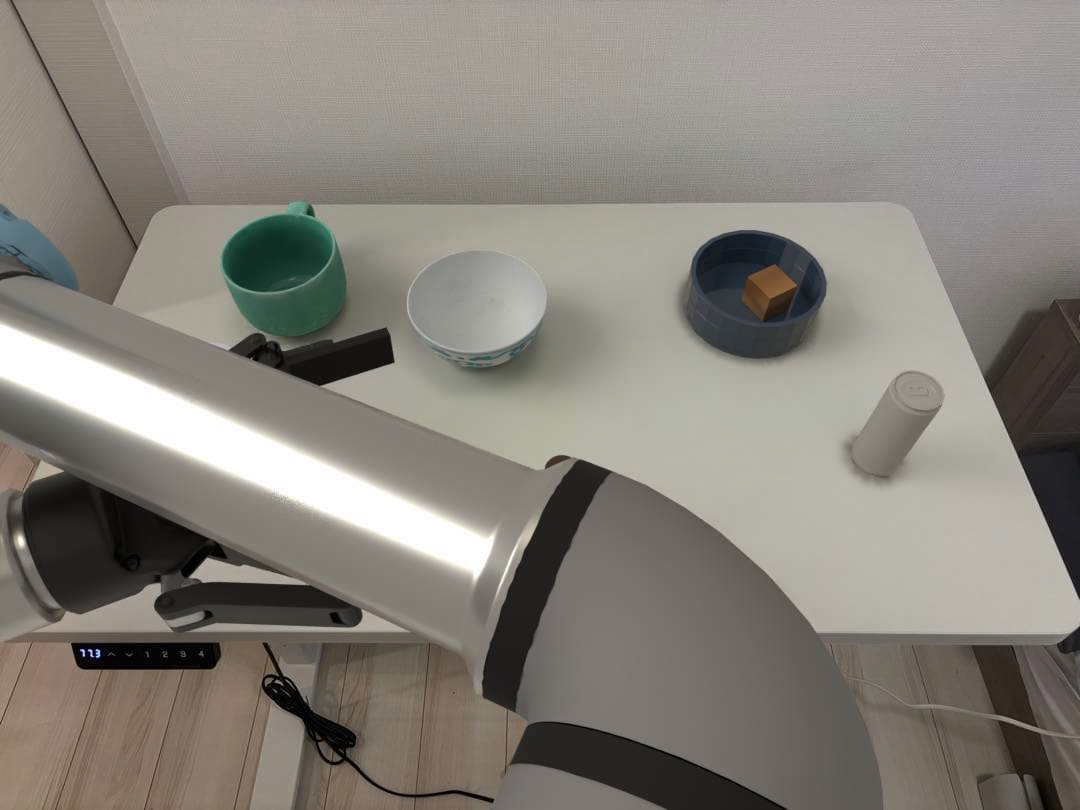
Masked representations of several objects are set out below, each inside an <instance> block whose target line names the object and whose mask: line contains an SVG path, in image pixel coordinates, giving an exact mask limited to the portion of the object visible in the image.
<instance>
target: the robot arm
mask: <svg viewBox="0 0 1080 810" xmlns="http://www.w3.org/2000/svg"><path fill="white" fill-rule="evenodd" d="M266 337H267V336H265V334H264V333H261V332H254V333H253V332H252V333H251V334H249V335H247V336H246V337H245V338H243V339H242V340H240V341H239V342H238V343H236V344H234V345H233V346H232V348H231V349H229V350H226V349H223V348H220V347H218V346H215V345H213V344H210V343H207V342H208V341H205V340H203V339H199V338H197V337H195V336H192V335H189V334H187V333H185V332H181V331H179V330H176V329H174V328H171V327H168V326H166V325H164V324H161V323H158V322H156V321H153V320H151V319H149V318H146V317H143V316H140V315H138V314H135V313H132V312H130V311H127V310H125V309H122V308H120V307H117V306H115V305H112V304H110V303H107V302H104V301H102V300H99V299H97V298H95V297H91V296H89V295H87V294H84V293H81V292H80V284H79V279H78V277H77V274H76V271H75V269H74V267H73V266H72V265H71V263H70V262H69V260H68V259H67V258H66V256H65V255H64V253H63V252H62V251H61V250H60V249H59V248H58V246H56V244H55V243H54V242H53V241H52V240H51V239H50V238H48V237H47V235H46V234H45V233H43V232H42V231H41V230H40V229H39V228H38V227H37V226H35V225H34V224H33V223H31V222H30V221H28V219H24V218H20V217H18V216H17V215H15V214H14V213H13V212H12V211H11V210H10V208H8V207H7V206H6V205H4V204H2V203H0V443H3V444H5V445H7V446H9V447H12V448H14V449H16V450H17V451H20V452H23V453H24V454H27V455H29V456H31V457H32V458H33V457H34V458H35V459H38V460H40V461H41V462H44V463H46V464H48V465H50V466H53V467H54V468H57V469H59V470H61V472H57V473H54V474H52V475H49V476H44V477H41V478H38V479H36V480H32V481H31V483H29V485H28V487H27V488H25V490H24V491H23V490H21V489H17V488H15V487H9V488H5V489H2V490H0V644H2V643H5V642H7V641H10V640H13V639H16V638H19V637H21V636H24V635H27V634H29V633H32V632H35V631H38V630H40V629H41V630H42V629H43V628H46V627H49V626H51V625H54V624H57V623H59V622H61V621H62V620H63V618H64V617H65V615H66V613H67V612H68V613H71V614H75V615H83V614H84V615H85V614H87V613H90V612H92V611H95V610H97V609H100V608H103V607H106V606H109V605H110V604H111V605H112V604H113V603H117V602H119V601H122V600H124V599H125V600H126V599H127V598H130V597H134V596H135V595H137V594H140V593H141V592H142V591H144V589H145V588H146V587H148V586H151V585H156V584H160V594H159V595H158V596H157V597H156V598H155V600H154V604H153V608H154V611H155V612H156V613H157V615H158V616H159V617H160V618H161V620H163V621H164V623H165V624H166V625H167V626H168V627H169V629H170V630H171V631H172V632H173V633H176V634H183V633H186V632H190V631H195V630H198V629H201V628H205V627H208V626H211V625H215V624H228V625H230V624H231V625H232V624H233V625H234V624H235V625H261V626H283V627H284V626H286V627H289V626H290V627H314V628H315V627H317V628H340V629H341V628H342V629H344V628H345V629H349V628H351V629H352V628H355V627H357V626H359V625H360V623H361V622H362V620H363V616H364V615H363V611H365V612H367V613H369V614H371V615H374V616H376V617H377V618H380V619H382V620H384V621H386V622H389V623H390V624H392V625H395V626H397V627H399V628H401V629H404V630H406V631H408V632H410V633H411V634H414V635H417V636H418V637H421V638H423V639H425V640H427V641H429V642H432V643H434V644H436V645H437V646H440V647H443V648H444V649H447V650H448V651H451V652H453V653H454V654H458V655H459V657H460V658H461V659H462V660H463V662H464V665H465V669H466V670H467V673H468V676H469V679H470V683H471V685H472V687H473V691H474V693H475V694H476V695H477V696H478V697H480V698H482V699H484V700H486V701H489V702H491V703H493V704H495V705H498V706H500V707H502V708H504V709H506V710H508V711H510V712H512V713H515V714H516V715H518V716H520V717H521V718H523V719H524V720H525V721H527V723H526V726H525V728H524V731H523V733H522V735H521V738H520V740H519V742H518V744H517V747H516V749H515V752H514V753H513V756H512V758H511V760H510V763H509V766H507V768H506V772H505V774H504V776H503V779H502V782H501V783H500V786H499V788H498V790H497V793H496V795H495V798H494V799H493V802H492V805H491V807H490V809H489V810H884V790H883V784H882V778H881V773H880V767H879V762H878V758H877V756H876V751H875V748H874V746H873V742H872V739H871V736H870V733H869V729H868V726H867V724H866V722H865V718H864V716H863V714H862V712H861V709H860V708H859V705H858V703H857V701H856V698H855V697H854V694H853V692H852V690H851V688H850V685H849V683H848V680H847V679H846V678H845V676H844V674H843V672H842V670H841V669H840V668H839V667H840V666H839V665H838V664H837V662H836V660H835V659H834V657H833V655H832V654H831V653H830V651H829V649H828V648H827V647H826V645H825V643H824V642H823V641H822V639H821V637H820V636H819V634H818V633H817V631H816V629H815V628H814V627H813V625H812V623H811V622H810V621H809V619H807V617H806V616H805V615H804V614H803V613H802V612H801V611H800V609H799V608H798V607H797V605H796V604H795V603H794V602H793V601H792V600H791V599H790V598H789V596H788V595H787V594H786V593H785V591H784V590H782V588H781V587H780V586H779V585H778V584H777V582H775V581H774V580H773V578H772V577H771V576H770V575H769V574H768V573H767V572H766V571H765V570H764V569H763V568H762V567H760V566H759V565H758V564H757V563H756V562H755V561H754V560H753V559H752V558H750V557H749V556H748V555H747V554H746V553H745V552H743V551H742V550H741V549H740V548H739V547H737V545H736V544H734V542H732V541H731V540H730V539H729V538H728V537H727V536H725V535H724V534H723V533H722V531H719V530H718V529H716V528H715V527H714V526H712V525H711V524H709V523H708V522H707V521H705V520H703V519H702V517H699V516H698V515H697V514H695V513H694V512H692V511H691V510H690V509H688V508H686V507H685V506H684V505H682V504H680V503H678V502H676V501H675V500H673V499H671V498H669V497H668V496H666V495H665V494H663V493H661V492H659V491H658V490H656V489H654V488H652V487H651V486H649V485H647V484H645V483H643V482H640V481H638V480H635V479H633V478H631V477H629V476H625V475H623V474H620V473H618V472H616V471H614V470H612V469H611V470H610V469H608V468H605V467H603V466H601V465H597V464H595V463H592V462H590V461H587V460H585V459H582V458H578V457H576V456H571V457H572V458H569V459H567V460H565V461H562V462H560V463H558V464H556V465H553V466H551V467H549V468H547V469H545V468H544V469H543V468H542V469H535V468H533V467H529V466H527V465H524V464H521V463H519V462H517V461H514V460H511V459H509V458H506V457H504V456H501V455H498V454H496V453H494V452H491V451H488V450H485V449H484V448H480V447H477V446H475V445H473V444H470V443H468V442H464V441H462V440H459V439H457V438H454V437H453V436H450V435H447V434H444V433H441V432H440V431H437V430H434V429H432V428H429V427H426V426H424V425H421V424H419V423H416V422H414V421H411V420H408V419H406V418H403V417H400V416H398V415H396V414H392V413H390V412H388V411H385V410H383V409H380V408H377V407H375V406H372V405H370V404H367V403H364V402H362V401H359V400H357V399H354V398H351V397H349V396H346V395H343V394H341V393H340V392H339V393H338V392H336V391H334V390H331V389H328V388H326V387H323V386H325V385H328V384H332V383H335V382H338V381H341V380H345V379H347V378H348V379H349V378H351V377H354V376H356V375H360V374H364V373H366V372H370V371H373V370H376V369H379V368H383V367H385V366H389V365H393V364H395V363H396V361H395V354H394V349H393V343H392V336H391V333H390V332H389V329H388V327H387V326H385V327H382V328H378V329H375V330H372V331H369V332H365V333H362V334H358V335H355V336H353V337H352V336H351V337H348V338H346V339H345V338H344V339H342V340H339V341H334V339H333V338H330V339H326V338H325V339H321V340H318V341H315V342H311V343H309V344H304V345H300V346H298V347H294V348H291V349H287V350H282V347H281V343H279V342H278V341H276V340H267V338H266ZM206 559H210V560H214V561H218V562H221V563H224V564H228V565H232V566H234V567H235V566H236V567H242V566H249V567H252V568H256V569H259V570H262V571H266V572H268V573H269V572H270V573H273V574H277V575H280V576H285V577H288V578H292V579H295V580H298V581H300V582H301V583H305V584H296V583H295V584H294V583H293V584H292V583H264V582H262V583H261V582H237V581H207V582H206V581H205V582H204V581H203V580H201V579H199V578H196V577H194V578H193V577H192V578H191V576H192V575H194V573H195V572H196V571H197V570H198V569H199V567H201V565H203V563H204V562H205V561H206Z"/></svg>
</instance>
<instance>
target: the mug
mask: <svg viewBox="0 0 1080 810" xmlns="http://www.w3.org/2000/svg"><path fill="white" fill-rule="evenodd" d="M285 210H286V211H285V212H281V213H274V214H269V215H266V216H262V217H260V218H257V219H254V220H252V221H250V222H249V223H247V224H245V225H244V226H242V227H240V228H239V229H238V230H237V231H235V232H234V233H233V234H232V235H231V236H230V237H229V238H228V240H227V241H226V243H225V244H224V245H223V248H222V250H221V252H220V257H219V267H220V271H221V274H222V276H223V280H224V282H225V284H226V287H227V288H228V290H229V294H230V295H231V297H232V299H233V301H234V303H235V305H236V307H237V309H238V310H239V312H240V313H241V315H242V316H243V317H244V319H245V320H246V321H247V322H248V323H249V324H250V325H252V326H253V327H254V328H256V329H258V330H259V331H262V332H263V333H265V334H269V335H272V336H277V337H283V338H284V337H286V338H287V337H289V338H290V337H298V336H303V335H307V334H310V333H313V332H315V331H318V330H319V329H321V328H322V327H325V326H326V325H327V324H328V323H330V322H331V321H332V320H333V319H334V318H335V317H336V315H337V314H338V313H339V312H340V311H341V309H342V306H343V305H344V302H345V299H346V296H347V276H346V271H345V266H344V263H343V259H342V256H341V252H340V249H339V245H338V243H337V240H336V237H335V234H334V233H333V231H332V229H331V228H330V227H329V226H328V225H327V223H325V222H324V221H322V220H320V219H318V218H316V213H315V212H316V211H315V209H314V207H313V205H312V204H311V203H309V202H307V201H303V200H296V201H292V202H290V203H289V204H288V205H287V206H286V209H285Z"/></svg>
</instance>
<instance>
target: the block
mask: <svg viewBox="0 0 1080 810" xmlns="http://www.w3.org/2000/svg"><path fill="white" fill-rule="evenodd" d="M796 289H797V285H796V284H795V283H794V282H793V281H792V280H791V279H790V278H789V277H788V276H787V275H786V274H785V273H784V272H783V271H782V270H781V269H779V268H778V267H777V266H776V265H775V264H774V265H772V266H770V267H768V268H766V269H763V270H761V271H759V272H757V273H755V274H752V275H750V276H748V278H747V282H746V285H745V288H744V291H743V295H742V298H741V301H742V302H743V303H744V304H745V305H746V306H747V307H748V308H749V309H750V310H751V311H752V312H753V313H754V314H755V315H756V316H757V317H758V318H759V319H760V320H761V321H762V322H764V321H766V320H768V319H770V318H772V317H774V316H776V315H778V314H780V313H782V312H784V311H786V310H788V309H789V307H790V305H791V302H792V299H793V297H794V294H795V291H796Z"/></svg>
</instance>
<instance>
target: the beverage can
mask: <svg viewBox="0 0 1080 810" xmlns="http://www.w3.org/2000/svg"><path fill="white" fill-rule="evenodd" d="M944 401H945V390H944V388H943V386H942V384H941V383H940V382H939V381H938V380H937V379H936V378H934V377H933V376H932V375H930V374H928V373H926V372H923V371H920V370H914V369H913V370H912V369H911V370H904V371H902V372H900V373H898V374H897V375H896V376H895V377H894V378H893V379H892V380H891V381H890V383H889V385H888V386H887V388H886V390H885V391H884V393H883V395H881V398H880V399H879V401H878V403H877V404H876V406H875V408H874V410H872V413H871V415H870V416H869V417H868V419H867V421H866V423H865V425H864V426H863V428H862V430H861V431H860V432H859V434H858V436H857V438H856V439H855V441H854V443H853V444H852V447H851V451H850V452H851V457H852V459H853V462H854V463H855V464H856V466H857V467H858V468H860V469H861V470H862V471H864V472H865V473H867V474H870V475H873V476H880V477H883V476H884V477H885V476H889V475H891V474H893V473H894V472H895V471H897V470H898V468H899V467H900V465H901V464H902V463H903V461H904V460H905V458H906V457H907V455H908V454H909V453H910V451H911V450H912V449H913V447H914V446H915V445H916V443H917V442H918V441H919V439H920V438H921V436H922V435H923V434H924V433H925V431H926V429H927V428H928V427H929V425H930V424H931V422H932V421H933V420H934V419H935V418H936V415H937V414H938V413H939V411H940V409H942V406H943V402H944Z"/></svg>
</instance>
